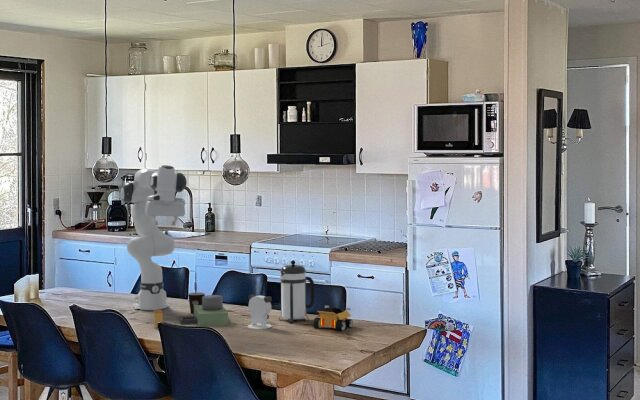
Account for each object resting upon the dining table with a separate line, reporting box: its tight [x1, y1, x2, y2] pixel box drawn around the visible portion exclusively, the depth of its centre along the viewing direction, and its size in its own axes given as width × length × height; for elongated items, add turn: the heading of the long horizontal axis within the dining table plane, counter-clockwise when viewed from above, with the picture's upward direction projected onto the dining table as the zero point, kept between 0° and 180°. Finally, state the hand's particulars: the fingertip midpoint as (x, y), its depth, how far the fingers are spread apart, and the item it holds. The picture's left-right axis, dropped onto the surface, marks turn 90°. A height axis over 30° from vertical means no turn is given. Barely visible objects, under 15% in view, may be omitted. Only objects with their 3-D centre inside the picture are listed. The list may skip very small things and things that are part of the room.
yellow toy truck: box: [312, 305, 354, 332], centre depth 397 cm, size 15×15×11 cm
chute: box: [153, 309, 164, 329], centre depth 402 cm, size 4×4×8 cm
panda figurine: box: [247, 293, 273, 330], centre depth 401 cm, size 12×11×15 cm
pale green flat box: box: [179, 294, 229, 327], centre depth 415 cm, size 24×22×12 cm
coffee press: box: [278, 259, 315, 324], centre depth 416 cm, size 17×16×30 cm
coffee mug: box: [187, 291, 206, 315], centre depth 437 cm, size 12×9×10 cm
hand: (164, 225), depth 420 cm, fingers open, 8 cm apart
